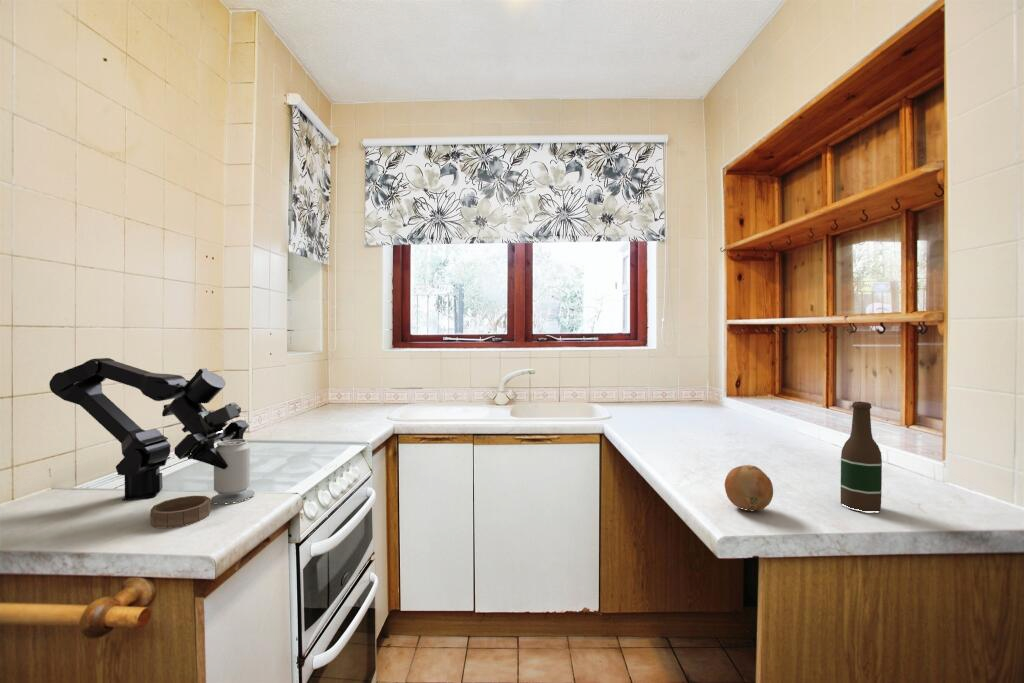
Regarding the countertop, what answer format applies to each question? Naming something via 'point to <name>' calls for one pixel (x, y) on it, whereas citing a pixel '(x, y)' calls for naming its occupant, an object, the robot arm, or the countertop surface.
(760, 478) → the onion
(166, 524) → the collar
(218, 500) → the mat
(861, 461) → the beer bottle
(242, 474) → the can
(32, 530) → the countertop surface
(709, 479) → the countertop surface
